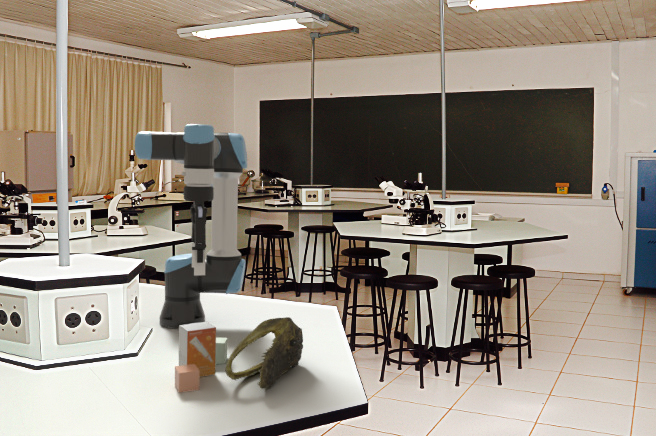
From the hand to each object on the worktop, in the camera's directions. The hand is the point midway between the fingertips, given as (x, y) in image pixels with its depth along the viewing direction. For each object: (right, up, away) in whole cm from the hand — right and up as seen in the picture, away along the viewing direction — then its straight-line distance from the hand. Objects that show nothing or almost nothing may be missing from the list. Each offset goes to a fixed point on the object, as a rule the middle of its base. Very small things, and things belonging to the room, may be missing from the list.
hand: (198, 270), depth 157 cm
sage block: (+2, -26, +13) cm, 30 cm away
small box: (-1, -28, +3) cm, 28 cm away
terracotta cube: (-1, -29, -6) cm, 29 cm away
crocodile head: (+19, -28, +2) cm, 34 cm away
